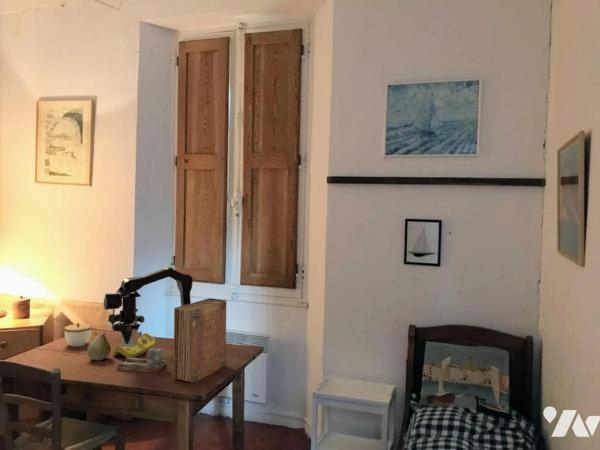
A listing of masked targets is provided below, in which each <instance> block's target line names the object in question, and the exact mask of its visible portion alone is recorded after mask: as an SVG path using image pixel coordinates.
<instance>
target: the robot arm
mask: <svg viewBox="0 0 600 450" xmlns="http://www.w3.org/2000/svg"><path fill="white" fill-rule="evenodd" d="M166 278H171V279H173V280H175V281H176V282H175V283H176V286H177V289H178V291H179V294H180V295H179V296H180V297H179V298H180V306H183V305H187V304H190V303H192V301H191V291H192V288H193V283H194V282H193V281H194V279H193V277H192V276H191V275H190V274H189V273H185V272H180V271H178V270H176V269H174V268H172V267H170V266H169V267H168V266H166V267H164V268H162V269H158V270H156V271H154V272H150V273H148V274H144V275H141V276H135V277H127V278H124V279H122V281H121V284H120V286H119V288H118V289H117V290H116V292H115V293H105V295H104V300H103V308H104V311H105V310H106V311H108V310H117V309H120V308H122V309H121V310H120V311H119V313H116V314H114V313H111V314H110V315H108V320H107V321H108V322H109V323H110V324H111V325H112V331H113V332H120V333H121V336H122V335H123V337H124V340H125V343H126V344H128V343H129V340H130V337H131V334H132V330H133V329H137V331H139V328H140V326H141V325H142V324H143V323H144V322H145V317H144V316H143V315H137V312H138V311H139V310H138V309H139V308H137V298H140V297H142V295H141V294H140V293H139V290H141V289H142V288H143V287H144V286H147V285H149V284H152V283H155V282H158V281H161V280H164V279H166ZM138 322H139V323H138ZM113 324H114V325H113Z"/></svg>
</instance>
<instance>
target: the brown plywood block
mask: <svg viewBox="0 0 600 450" xmlns="http://www.w3.org/2000/svg"><path fill="white" fill-rule="evenodd" d="M226 342H227V300H226V299H217V298H205V299H202V300H198V301H194V302H191V303H190V304H187V305H183V306H181V305H180V306H176V307H174V310H173V371H172V372H173V373H172V374H173V378H172V379H173V381H176V380H178V381H184V382H189V383H190V384H194V383H196V382H199V381H200V380H202V379H204V378H206V377H208V376H210V375H212V374H214V373H216V372H217V371H219V370H222V369H223V368H225V367H226V365H227V364H226V361H227V360H226V356H227V355H226V354H227V353H226V351H227V346H226V344H227V343H226Z"/></svg>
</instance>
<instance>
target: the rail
mask: <svg viewBox="0 0 600 450" xmlns="http://www.w3.org/2000/svg"><path fill="white" fill-rule="evenodd" d="M117 365H118V366H117V367H116V370H117V371H123V372H124V371H127V372H141V373H142V372H143V373H154V374H155V373H158V372H159V371H161V370H162V369H163V368H164V367H165V366H167V361H166V360H164V359H163V348H155V347H151V348H149V349H148V350H147V351H146V358H137V357H135V358H126V357H125V361H124V362H118V363H117Z"/></svg>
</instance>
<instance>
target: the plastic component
mask: <svg viewBox="0 0 600 450" xmlns="http://www.w3.org/2000/svg"><path fill="white" fill-rule="evenodd" d="M155 343H156V339H155V338H154V337H153V336H152V335H150V334H149V333H148V332H145V333H143V335H141V336H140V337H138V343H137V345H135V346H134V347H123V346H122V345H117V346H116V348H115V349H114V351H113V354H112V355H113V356H114V357H117V356H119V355H122V356H124V357H125V359H126V358H137V357H138V356H141V355H143V354H145V353H147V352H148V350H149V349H151V348H153V346H154V345H155Z"/></svg>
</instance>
